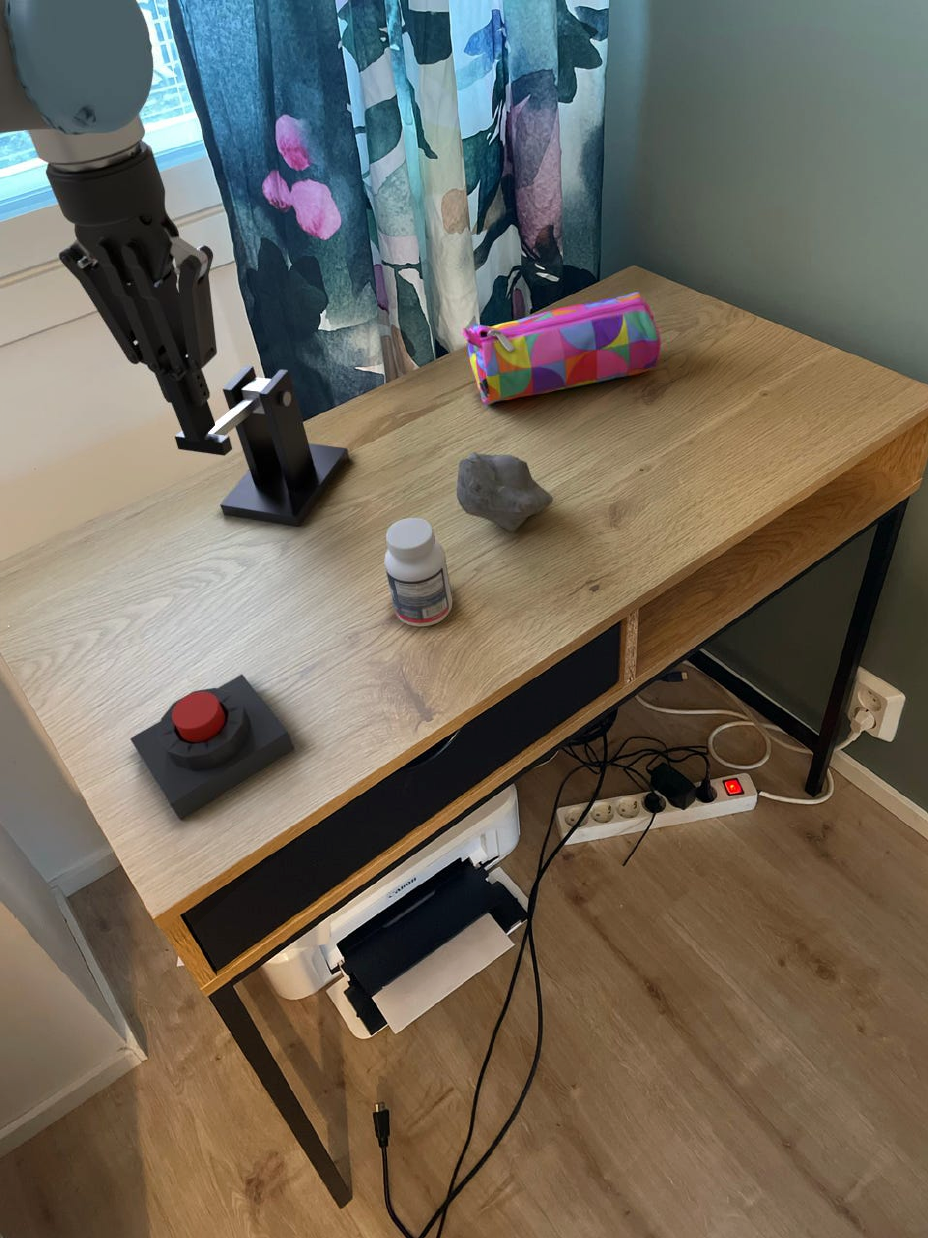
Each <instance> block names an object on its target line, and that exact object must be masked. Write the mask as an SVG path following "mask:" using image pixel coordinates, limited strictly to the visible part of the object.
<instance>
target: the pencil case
mask: <svg viewBox="0 0 928 1238" xmlns="http://www.w3.org/2000/svg"><path fill="white" fill-rule="evenodd" d="M461 331H462V335H463V337H464V338H465V340H466V342H467V348H468V349H467V351H468V358H469V364H470V367H471V370H472V373H473V376H474V378H475V381H476V387H477V389H478V391H479V394H480V396H481V401H482V403H484V404H485V405H491V404H494V403H495V402H500V401H511V400H513V399H517V398H518V399H519V398H522V397H529V396H536V395H542V394H543V395H544V394H547V393H548V394H549V393H551V392H554V391H559V390H566V389H571V388H576V387H581V386H585V385H590V384H594V383H600V382H605V381H609V380H614V379H616V378H624V377H628V376H634V375H638V374H643V373H645V372H647V371H651V370H653V369H655V368H656V366H657V365H658V362H659V360H660V356H661V347H662V346H661V345H662V343H661V333H660V330H659V327H658V325H657V322H656V321H655V318H654V314H653V313H652V310H651V308H650V306H649V303H648V302H645V301H644V300H643V296H642V294H641V293H640V292H639V291H636V292H632V293H629V294H625V295H619V296H617V297H612V298H606V299H601V300H599V301H596V302H586V303H580V304H574V305H567V306H564V307H559V308H556V309H553V310H547V311H545V312H541V313H537V314H535V315H531V316H528V317H523V318H520V319H517V320H512V321H507V322H502V323H498V324H495V325H492V326H489V325H485V324H484V325H482V324H474V325H473V324H472V325H471V326H470V327H469V328H468V330H467V328H465V327H463V328H462V329H461Z"/></svg>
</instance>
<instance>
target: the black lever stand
mask: <svg viewBox="0 0 928 1238" xmlns="http://www.w3.org/2000/svg"><path fill="white" fill-rule="evenodd" d="M291 377H292V376H291V373H290V370H289V369H281V368H280V369H279V370H278V371H277V372H276V374H274V376H273V377H272V378H270V379H271V380H270V381H269V382H268V383H267V385H266V386H265V387H264V388H263V389H262V390H261V391H260V392H259V397H260V400H261V403H262V407H263V410H264V413H265V414H260V413H251V414H250V415H249V416H248V417H246V418H245V419H244V420H243V421H242V422H240V423H239V424H238V425H237V426H236V427H234V429H235V431H236V433H237V436H238V439H239V443H240V445H241V449H242V452H243V455H244V458H245V460H246V464H247V466H248V471H247V472H246V473H245V474H244V475H243V476H242V478H241V479H239V481H238V482H237V484H236V485H235V486H234V487H233V488H232V490H230V492H229V493H228V495H227V496H225V498H224V499H223V501H222V502H221V503H220V504H219V506H220V510H221V512H222V514H223V515H226V516H232V517H238V518H244V519H250V520H255V521H261V522H268V523H272V524H273V523H274V524H279V525H285V526H291V527H297V528H299V527H301V525H302V524H303V522H304V521H305V519H306V518H307V517H308V515H309V514H310V513H311V512H312V510H313V509H314V507H315V506H316V504H317V503H318V502H319V500H320V499H321V498H322V496H323V495H324V494H325V492H326V491H327V489H328V488H329V487H330V485H331V484H332V482H334V480H335V478H336V477H337V476H338V474H339V473H340V472H341V470H342V469H343V468H344V467H345V464H346V463H347V462H348V460H349V459H350V455H349V452H348V451H349V450H348V448H346V447H341V446H334V445H326V444H317V443H310V442H309V439H308V436H307V432H306V429H305V425H304V422H303V418H302V414H301V410H300V406H299V402H298V400H297V396H296V392H295V388H294V385H293V380H292V378H291ZM255 378H258V376H257V374H256V371H255V367H254V365H253V366H252V365H244V366H243V367H242V368H241V369H240V370H239V371H238V372H237V373H236V374H235V375H234V377H232V379H230V381H229V382H228V383H227V384H226V385H225V386H223V388H222V392H223V395H224V398H225V401H226V404H227V407H228V410H229V411H230V410H232V409H233V408H234V407H235V406H237V405H238V404H239V403H240V402H242V401H243V400H244V399H243V395H242V390H241V389H242V388H243V387H245V386H246V385H247V384H248V383H250V382H251V381H252V380H254V379H255Z"/></svg>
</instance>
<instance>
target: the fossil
mask: <svg viewBox="0 0 928 1238" xmlns="http://www.w3.org/2000/svg"><path fill="white" fill-rule="evenodd" d="M458 463H459V464H458V473H457V482H456V498H457V500H458V503H459V505H460V506H461V508H462V510H463V511H464V512H465V514H467V515H470V516H473V517H478V518H482V519H485V520H488V521H489V522H492V523H494V524H496V525H497V526H499V527H501V528H503V529H505V530H506V531H507V532H515V531H517V530H518V529H519V528H520V526H521V525H522V524H523V523H524V522H525V521H526V519H528V517H529V516H533V515H535V514H537V513H539V512H541V511H543V510H545V509H546V508H547V507H549V506H550V505H552V503H553V501H554V497H553V496H552V495H551V494H550V493H549V492H548V491H547V490H546V489H545V488H543V487H542V486H541V485H539V484H538V483H537V481H535V480H534V479H533V477H532V474H531V471H530V468H529V466H528V462H527V461H524V460H522V459H521V458H519V457H517V456H514V455H512V454H485V453H477V452H475V451H473V452H471V453H470V454H469V455H468V457H465V458H463V459H461V461H460V462H458Z"/></svg>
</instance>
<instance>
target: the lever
mask: <svg viewBox="0 0 928 1238" xmlns="http://www.w3.org/2000/svg"><path fill="white" fill-rule="evenodd" d="M271 379H272V378H265V377H264V378H263V377H257V378H255V379H254V380H252V381H251V382H250V383H248V384H247V385H246V386H245V387H243V388H242V389H241V390H242V395H243V399H244V400H243V401H242V402H240V403H239V404H238V405H237V406H235V407H234V408H233V409H232V410H229V411H228V412H226V413H225V414H224V415H223V416H222V417H220V418H219V419H218V420H216V422H215V424H216V425H215V427H214V428H213V429H212V430H211V431H210V432H209V433H208V434H207V435H206V436H205V438H204V439H203V440H202V441H201V442H194V441H187V440H186V439H185V437H184V434H183V431H182V430H180V431H179V432H178V433H176V434H175V435H174V440H175V444H176V446H177V449H178V450H182V451H187V452H195V453H203V454H208V455H209V454H210V455H216V456H226V455H228V454H229V453H230V452H231V451H232V450H233V444H232V442H231V437H230V436H229V435H227V434H229V433H230V432H231V431H232V430H234V429H235V427H236V426H237V425H238V424H239V423H240V422H242V421H243V420H244V419H245V418H246V417H248V416H249V415H250V414H251V413H260V414H265V413H264V410H263V407H262V403H261V400H260V397H259V392H260V391H261V390H262V389H263V388H264V387H265V386H266V385H267V383H268V382H269V381H270V380H271Z"/></svg>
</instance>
